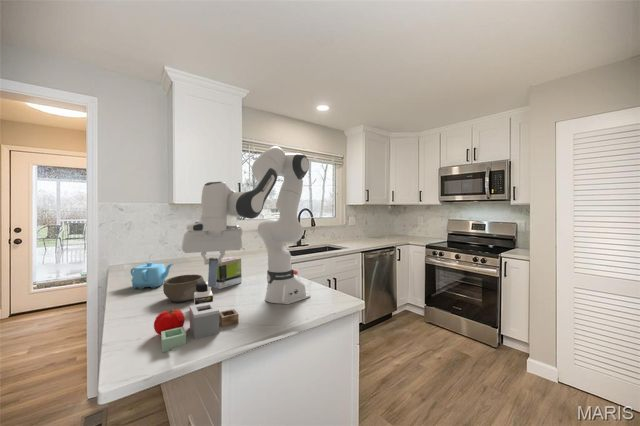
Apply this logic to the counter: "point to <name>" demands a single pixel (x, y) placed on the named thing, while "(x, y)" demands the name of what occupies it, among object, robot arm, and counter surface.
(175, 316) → the tomato
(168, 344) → the rest socket
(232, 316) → the holder
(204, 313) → the grey hollow block
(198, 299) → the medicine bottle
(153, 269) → the teapot
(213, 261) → the grey rod
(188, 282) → the bowl
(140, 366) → the counter surface
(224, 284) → the tea box
